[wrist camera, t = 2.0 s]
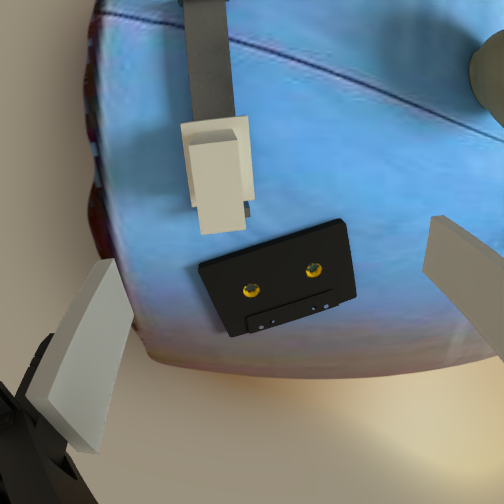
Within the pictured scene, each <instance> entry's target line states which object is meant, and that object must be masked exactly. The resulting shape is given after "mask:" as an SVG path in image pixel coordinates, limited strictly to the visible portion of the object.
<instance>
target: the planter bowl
mask: <svg viewBox="0 0 504 504" xmlns="http://www.w3.org/2000/svg"><path fill="white" fill-rule="evenodd" d="M469 76H470V82H471V86H472V90H473V92H474V95H475V97H476V98H477V100H478V101H479V103H480V104H481V105H482V106H483V107H484V108H485V109H487V110H488V111H489V112H490V114H491V115H492V116H493V117H494V119H495V120H496V121H497V122H498V123H499V124H500V125H501V126H502V127H503V128H504V30H501V31H499V32H497V33H495V34H494V35H492V36H491V37H490V38H489V39H487V40H486V41H485V43H484V44H483V45H482V46H481V48H480V49H478V50H477V51H475V52H474V54H473V55H472V58H471V61H470V66H469Z"/></svg>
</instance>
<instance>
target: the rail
mask: <svg viewBox="0 0 504 504" xmlns="http://www.w3.org/2000/svg"><path fill="white" fill-rule="evenodd" d="M225 1H229V0H178V3H179V5H180V6H183V10H184V24H185V37H186V49H187V61H188V72H189V82H190V92H191V102H192V111H193V120H194V121H198V120H206V119H214V118H223V117H232V116H235V107H234V95H233V84H232V73H231V62H230V51H229V39H228V28H227V16H226V5H225ZM243 203H244V214H245V217H250V207H249V204H248V201H243Z"/></svg>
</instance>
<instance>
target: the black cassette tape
mask: <svg viewBox="0 0 504 504" xmlns="http://www.w3.org/2000/svg"><path fill="white" fill-rule="evenodd" d="M270 242H271V243H270ZM236 253H237V254H236ZM314 263H317V265H319V267H318V268H317V270H316V271H314V272H310V271H307V268H309V266H310V265H311V264H314ZM198 272H199V274H200V276H201V278H202V281H203V283H204V285H205V287H206V289H207V291H208V293H209V295H210V297H211V300H212V302H213V304H214V306H215V308H216V310H217V312H218V314H219V316H220V318H221V320H222V322H223V324H224V326H225V328H226V330H227V332H228V334H229V336H230V337H235V336H239V335H242V334H246V333H250V334H251V333H255V332H258V331H261V330H265V329H268V328H271V327H274V326H278V325H281V324H284V323H287V322H290V321H294V320H297V319H300V318H303V317H306V316H309V315H312V314H315V313H318V312H321V311H324V310H327V309H330V308H332V307H335V306H338V305H339V303H342V302H345V301H348V300H351V299H353V298H356V296H357V294H356V286H355V278H354V271H353V264H352V258H351V251H350V245H349V239H348V233H347V227H346V223H345V222H344V221H343V220H342V219H341V218H339V219H336V220H332V221H329V222H326V223H323V224H320V225H317V226H314V227H311V228H307V229H304V230H301V231H298V232H295V233H292V234H289V235H286V236H283V237H279V238H276V239H273V240H270V241H267V242H264V243H261V244H258V245H255V246H252V247H248V248H245V249H242V250H239V251H236V252H233V253H230V254H227V255H224V256H221V257H218V258H215V259H212V260H208V261H205V262H202V263H200V264H199V268H198ZM317 276H318V277H317ZM250 284H254V285H255V286H256V285H257V288H256V290H254V291H251V292H248V291H246V290H245V289H244V288H246V286H247V285H250ZM257 295H258V296H257ZM248 297H249V298H248ZM252 297H253V298H252ZM326 304H328V305H329V307H328V308H326V309H325V308H324V305H326ZM313 307H314V308H315V310H312V308H313ZM273 320H274V321H275V322H274V323H272V322H271V321H273ZM260 325H262V326H264V328H263V329H259V326H260Z"/></svg>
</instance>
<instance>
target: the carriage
mask: <svg viewBox="0 0 504 504" xmlns="http://www.w3.org/2000/svg"><path fill="white" fill-rule="evenodd" d="M180 125H181V133H182V141H183V149H184V156H185V164H186V171H187V178H188V185H189V191H190V198H191V204H192V207H197V210H198V217H199V223H200V229H201V235H204V234H213V233H221V232H230V231H238V230H246V224H245V214H244V203H243V201H249V200H255V197H254V184H253V172H252V159H251V147H250V135H249V123H248V116H247V115H243V116H232V117H223V118H214V119H206V120H198V121H191V122H184V123H181V124H180Z"/></svg>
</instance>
